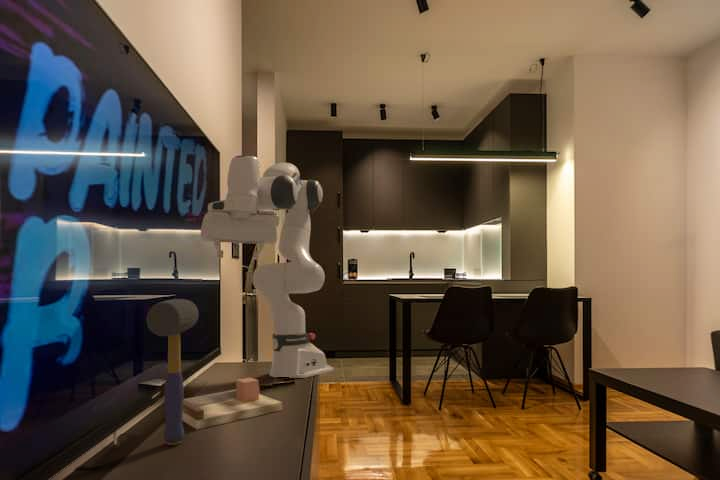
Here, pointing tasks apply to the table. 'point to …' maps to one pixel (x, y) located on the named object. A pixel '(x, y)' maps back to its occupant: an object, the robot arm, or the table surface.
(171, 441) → the rubber mallet
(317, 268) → the robot arm
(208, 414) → the birch board
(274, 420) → the table surface
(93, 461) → the table surface
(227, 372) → the table surface
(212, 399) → the steel straightedge
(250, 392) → the block
